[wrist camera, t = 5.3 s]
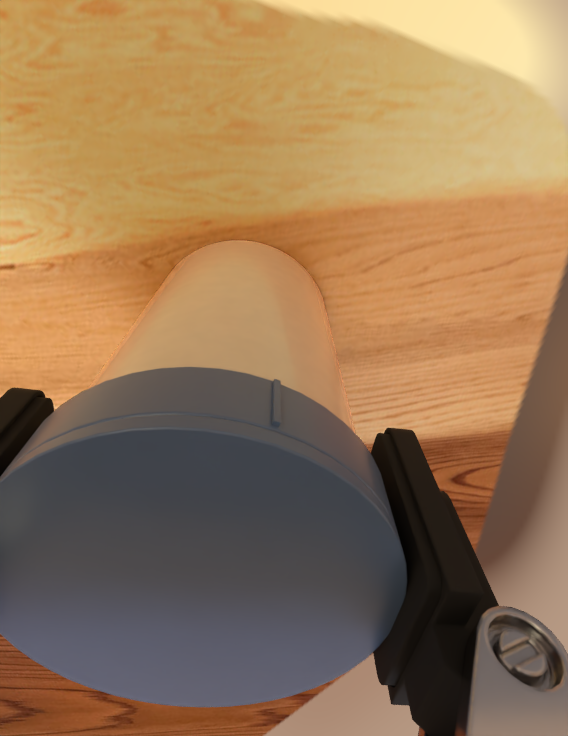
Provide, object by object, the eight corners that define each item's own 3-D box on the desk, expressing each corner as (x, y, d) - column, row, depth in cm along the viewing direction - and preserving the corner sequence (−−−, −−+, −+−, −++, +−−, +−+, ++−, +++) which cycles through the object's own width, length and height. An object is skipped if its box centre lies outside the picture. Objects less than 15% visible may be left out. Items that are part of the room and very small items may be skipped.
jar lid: (50, 293, 6) (-14, 343, 5) (462, 443, 8) (503, 516, 6) (-3, 584, 9) (-52, 665, 8) (296, 654, 11) (299, 732, 9)
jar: (353, 273, 16) (451, 479, 7) (293, 413, 19) (306, 688, 10) (176, 213, 15) (12, 362, 6) (142, 371, 18) (-1, 636, 9)
